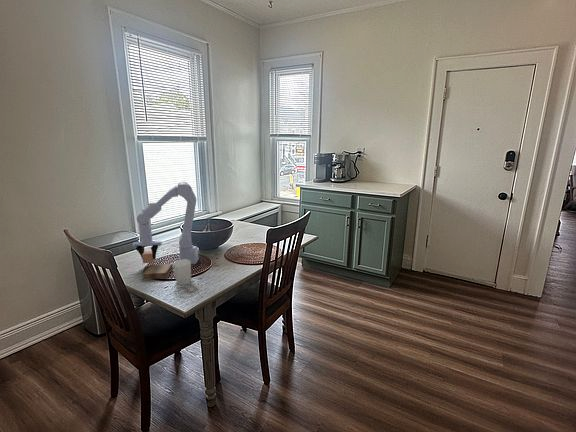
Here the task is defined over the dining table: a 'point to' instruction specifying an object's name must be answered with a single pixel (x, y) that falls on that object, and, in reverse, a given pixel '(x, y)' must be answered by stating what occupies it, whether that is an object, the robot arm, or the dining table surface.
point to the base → (158, 271)
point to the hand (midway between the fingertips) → (149, 258)
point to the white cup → (182, 271)
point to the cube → (148, 257)
